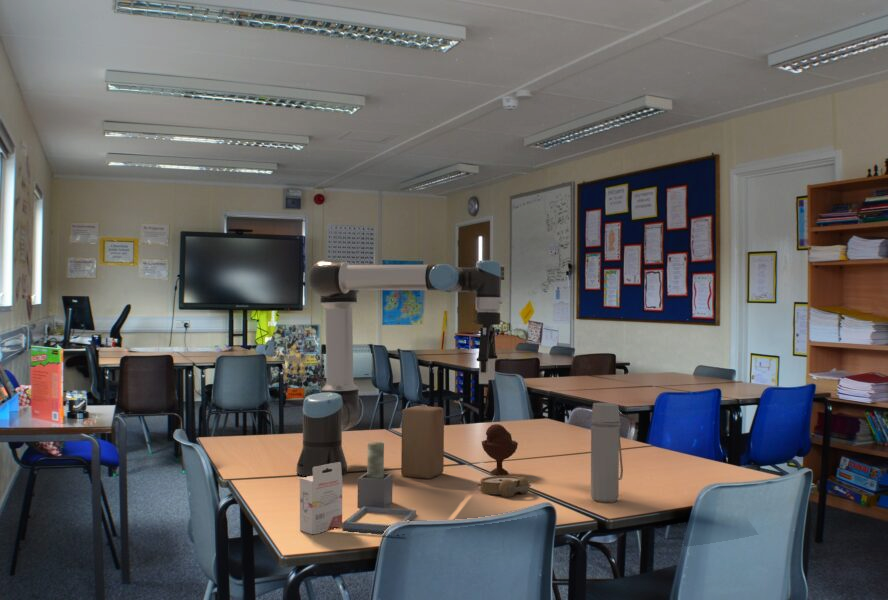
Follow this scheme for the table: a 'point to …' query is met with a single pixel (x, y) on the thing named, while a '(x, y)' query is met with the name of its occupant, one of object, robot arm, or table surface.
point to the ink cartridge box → (321, 499)
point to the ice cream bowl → (499, 446)
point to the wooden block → (422, 442)
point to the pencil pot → (375, 491)
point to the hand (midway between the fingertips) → (487, 381)
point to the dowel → (375, 460)
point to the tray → (374, 528)
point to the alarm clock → (504, 485)
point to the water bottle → (605, 452)
